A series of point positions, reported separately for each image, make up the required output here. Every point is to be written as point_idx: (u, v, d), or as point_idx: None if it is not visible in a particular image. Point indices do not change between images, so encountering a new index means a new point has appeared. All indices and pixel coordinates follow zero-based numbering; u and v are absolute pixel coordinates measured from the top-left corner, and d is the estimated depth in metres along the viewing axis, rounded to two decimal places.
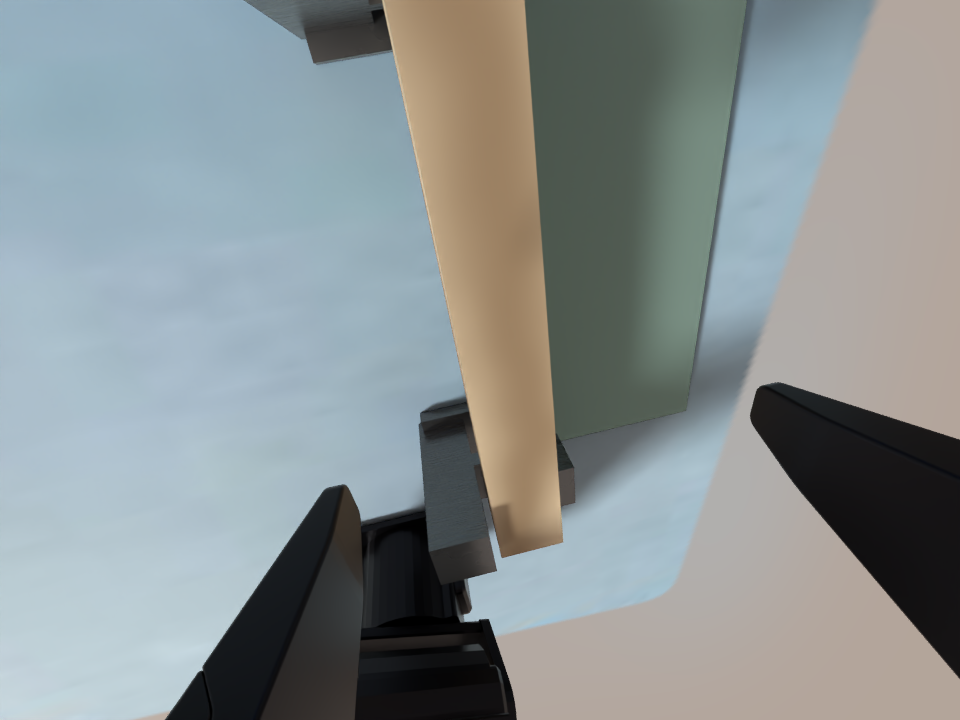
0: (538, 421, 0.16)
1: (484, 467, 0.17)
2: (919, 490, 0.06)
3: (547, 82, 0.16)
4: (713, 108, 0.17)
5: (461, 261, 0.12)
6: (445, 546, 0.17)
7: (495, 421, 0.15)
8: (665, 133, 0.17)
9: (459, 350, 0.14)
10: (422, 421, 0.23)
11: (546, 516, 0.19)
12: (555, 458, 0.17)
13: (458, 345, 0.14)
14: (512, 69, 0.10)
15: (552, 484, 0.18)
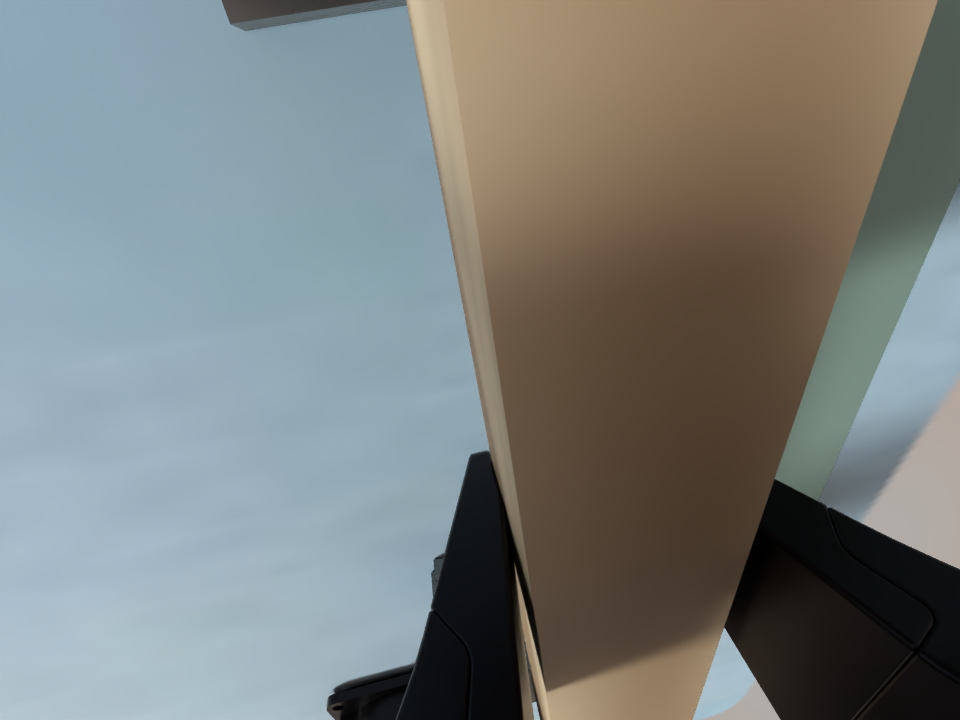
0: (670, 709, 0.08)
1: None
2: None
3: None
4: (959, 118, 0.10)
5: (574, 524, 0.05)
6: None
7: None
8: None
9: (543, 655, 0.06)
10: (437, 577, 0.15)
11: None
12: None
13: (542, 650, 0.06)
14: None
15: None
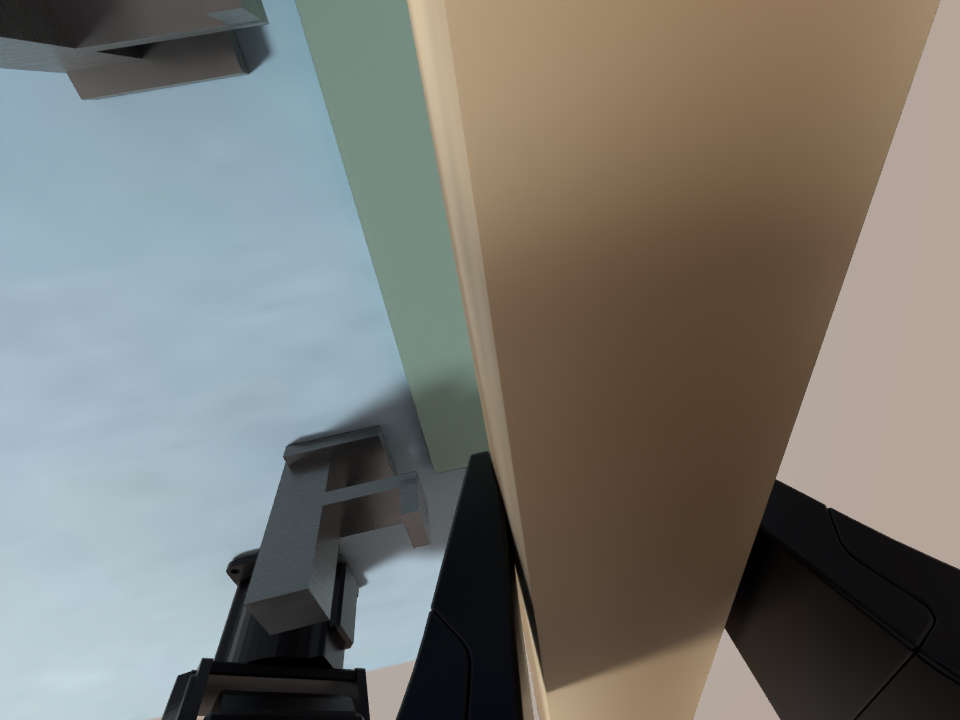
0: (670, 709, 0.08)
1: None
2: None
3: (353, 116, 0.15)
4: None
5: (575, 522, 0.05)
6: (261, 598, 0.16)
7: None
8: None
9: (543, 654, 0.06)
10: (285, 455, 0.22)
11: None
12: None
13: (542, 649, 0.06)
14: None
15: None
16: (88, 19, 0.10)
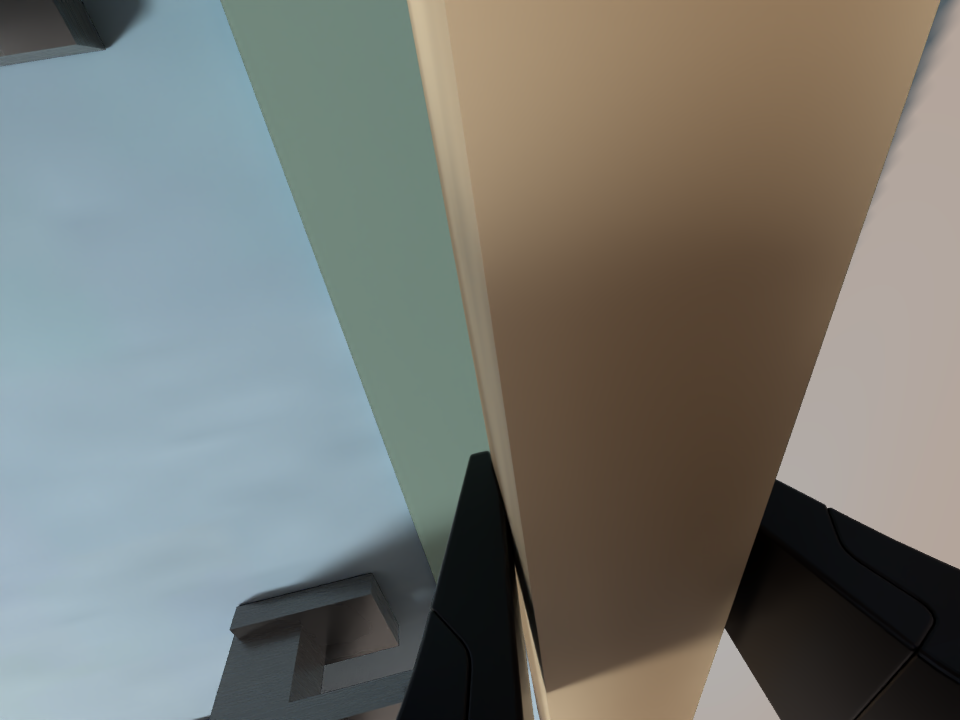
0: (670, 710, 0.08)
1: None
2: None
3: (317, 133, 0.08)
4: None
5: (575, 521, 0.05)
6: None
7: None
8: None
9: (543, 654, 0.06)
10: (233, 627, 0.15)
11: None
12: None
13: (542, 649, 0.06)
14: None
15: None
16: None
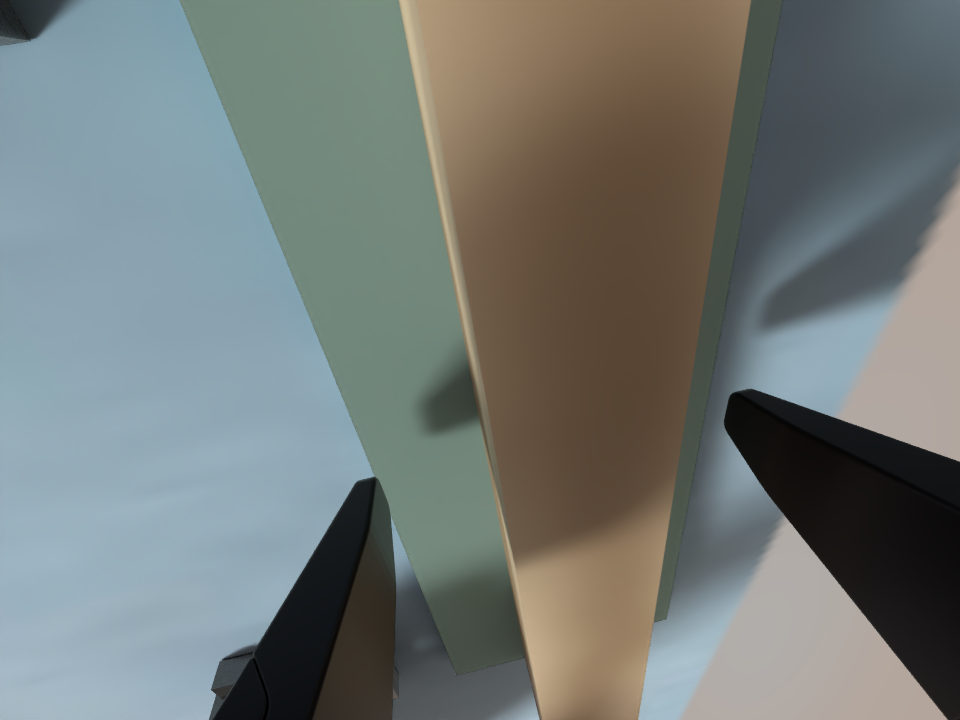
0: (630, 621, 0.10)
1: (537, 678, 0.11)
2: (881, 500, 0.06)
3: (298, 144, 0.06)
4: None
5: (532, 424, 0.06)
6: None
7: (561, 629, 0.09)
8: None
9: (514, 551, 0.08)
10: (214, 686, 0.13)
11: (618, 713, 0.13)
12: (645, 656, 0.11)
13: (513, 545, 0.07)
14: (707, 24, 0.04)
15: (634, 682, 0.12)
16: None
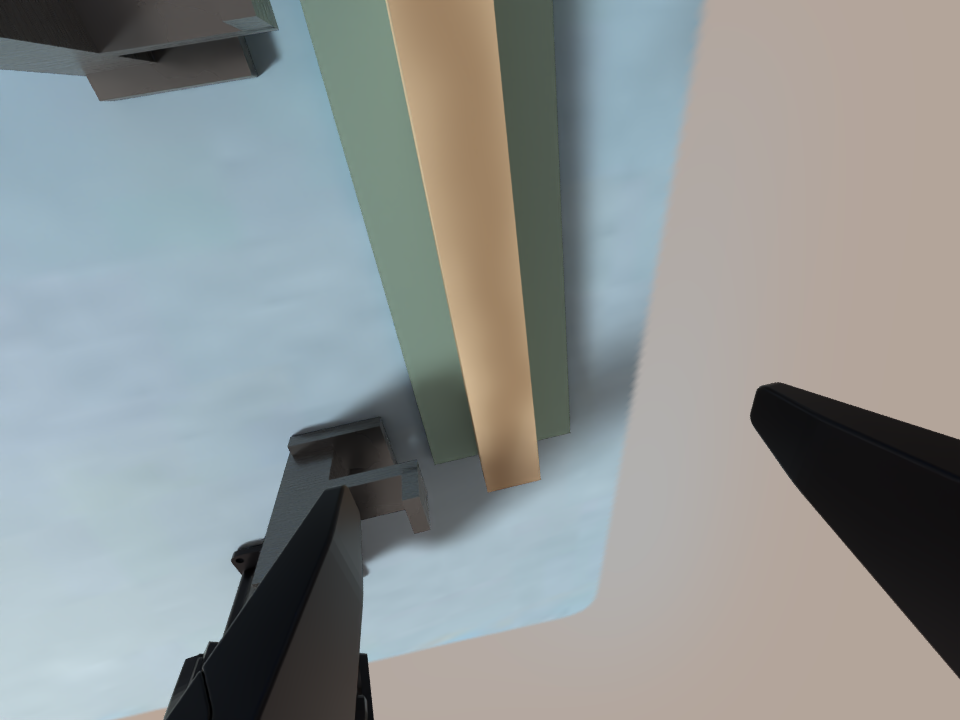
0: (516, 366, 0.19)
1: (471, 406, 0.20)
2: (919, 490, 0.06)
3: (357, 117, 0.16)
4: (539, 141, 0.17)
5: (450, 226, 0.15)
6: None
7: (479, 364, 0.19)
8: None
9: (449, 301, 0.17)
10: (289, 445, 0.23)
11: (525, 454, 0.22)
12: (531, 400, 0.20)
13: (449, 296, 0.17)
14: (488, 76, 0.13)
15: (529, 424, 0.21)
16: (111, 26, 0.11)
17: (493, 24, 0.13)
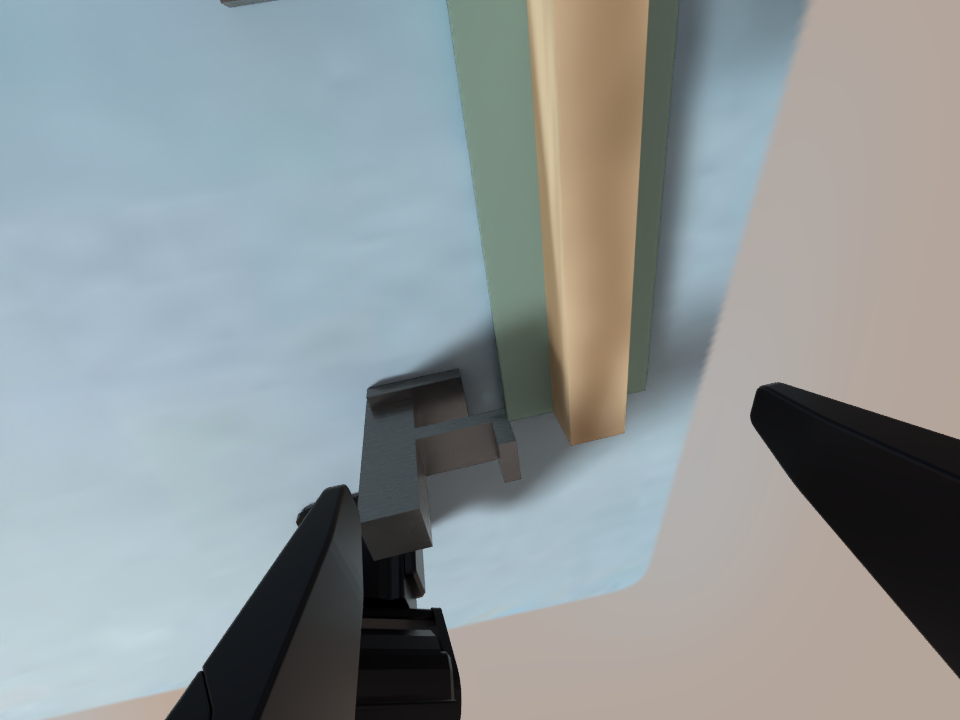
0: (619, 305, 0.18)
1: (568, 348, 0.19)
2: (919, 490, 0.06)
3: (476, 31, 0.15)
4: (655, 63, 0.17)
5: (576, 143, 0.15)
6: (373, 518, 0.16)
7: (583, 301, 0.18)
8: None
9: (563, 228, 0.16)
10: (368, 396, 0.22)
11: (613, 403, 0.21)
12: (628, 343, 0.20)
13: (563, 223, 0.16)
14: None
15: (622, 370, 0.20)
16: None
17: None
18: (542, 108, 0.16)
